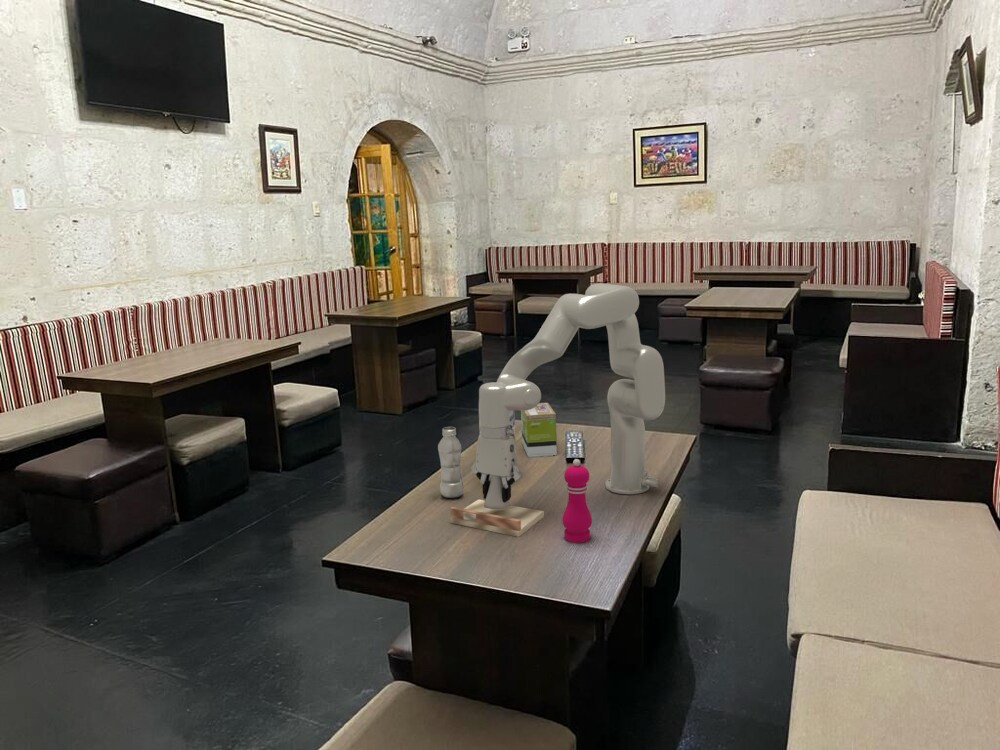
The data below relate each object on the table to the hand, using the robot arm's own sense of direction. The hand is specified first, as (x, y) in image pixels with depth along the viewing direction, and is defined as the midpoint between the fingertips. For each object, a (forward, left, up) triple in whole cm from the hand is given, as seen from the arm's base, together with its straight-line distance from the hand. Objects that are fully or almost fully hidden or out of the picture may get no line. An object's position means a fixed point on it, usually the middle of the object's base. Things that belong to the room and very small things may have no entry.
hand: (496, 498), depth 194 cm
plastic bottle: (+20, -9, -6) cm, 23 cm away
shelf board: (0, 0, -6) cm, 6 cm away
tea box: (+17, -58, -6) cm, 61 cm away
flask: (0, 0, -2) cm, 2 cm away
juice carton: (+15, -27, -6) cm, 31 cm away
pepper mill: (-23, +1, -6) cm, 24 cm away
